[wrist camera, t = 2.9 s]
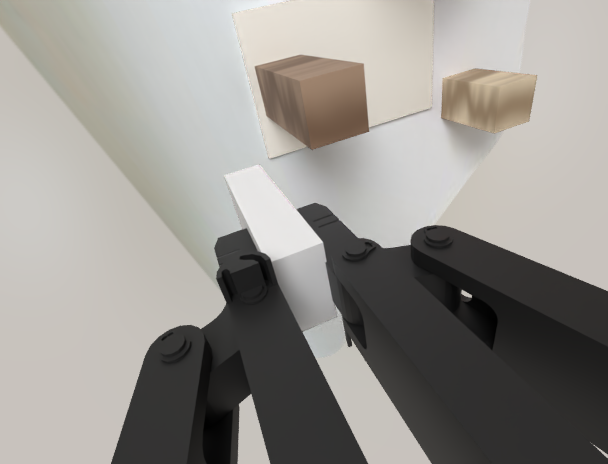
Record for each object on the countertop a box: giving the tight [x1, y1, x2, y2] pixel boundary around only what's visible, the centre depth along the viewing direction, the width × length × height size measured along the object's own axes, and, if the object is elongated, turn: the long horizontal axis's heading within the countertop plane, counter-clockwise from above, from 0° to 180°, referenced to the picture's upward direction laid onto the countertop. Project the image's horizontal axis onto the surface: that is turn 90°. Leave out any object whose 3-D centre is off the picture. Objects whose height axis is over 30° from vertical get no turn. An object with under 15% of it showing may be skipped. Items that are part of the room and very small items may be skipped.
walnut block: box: [254, 55, 369, 150], centre depth 28 cm, size 4×4×12 cm
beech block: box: [441, 69, 537, 133], centre depth 37 cm, size 4×4×8 cm
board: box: [232, 0, 434, 159], centre depth 34 cm, size 13×20×1 cm, turn 101°
